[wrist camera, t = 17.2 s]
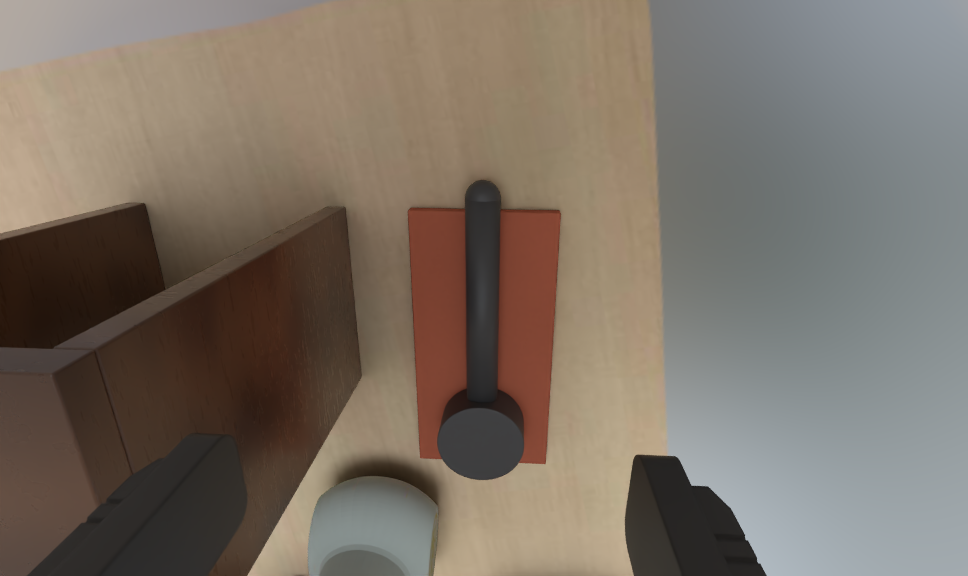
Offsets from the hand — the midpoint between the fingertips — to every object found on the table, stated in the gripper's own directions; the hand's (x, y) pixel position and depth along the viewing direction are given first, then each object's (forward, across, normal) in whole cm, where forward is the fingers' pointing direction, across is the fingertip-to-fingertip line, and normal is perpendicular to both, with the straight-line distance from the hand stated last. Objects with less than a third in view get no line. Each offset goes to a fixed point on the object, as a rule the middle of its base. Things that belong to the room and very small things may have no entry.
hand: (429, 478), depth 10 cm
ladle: (+20, 0, +7) cm, 21 cm away
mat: (+21, 0, +8) cm, 23 cm away
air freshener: (+21, +8, +23) cm, 32 cm away
